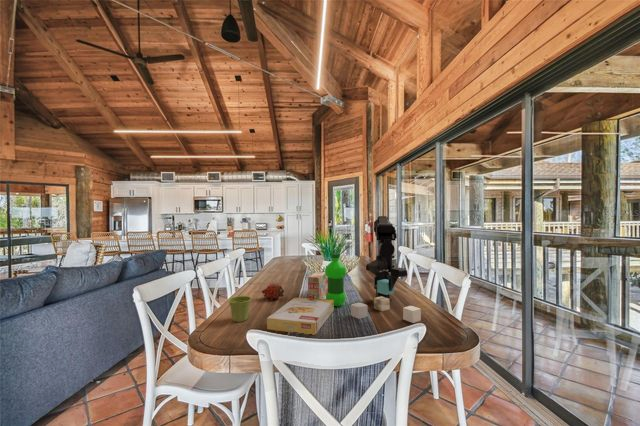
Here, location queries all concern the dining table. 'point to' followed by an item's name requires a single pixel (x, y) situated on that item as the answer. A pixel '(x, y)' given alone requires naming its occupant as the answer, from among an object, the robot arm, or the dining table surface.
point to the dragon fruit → (273, 291)
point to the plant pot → (239, 307)
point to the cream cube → (412, 314)
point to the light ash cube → (381, 303)
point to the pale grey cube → (359, 310)
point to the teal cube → (384, 287)
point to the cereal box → (301, 315)
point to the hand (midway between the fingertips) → (385, 289)
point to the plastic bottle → (336, 280)
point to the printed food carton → (317, 285)
